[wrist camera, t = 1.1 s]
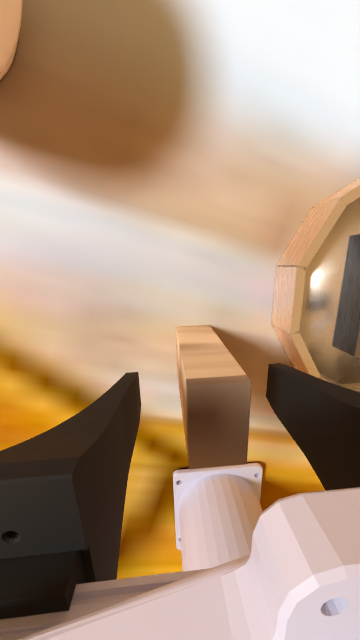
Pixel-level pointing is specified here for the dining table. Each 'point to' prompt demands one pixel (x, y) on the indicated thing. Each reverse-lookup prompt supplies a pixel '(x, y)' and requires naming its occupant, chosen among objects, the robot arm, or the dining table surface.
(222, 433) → the wood wick
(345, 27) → the dining table surface
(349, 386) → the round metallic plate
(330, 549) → the robot arm
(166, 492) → the dining table surface
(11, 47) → the lidded jar
